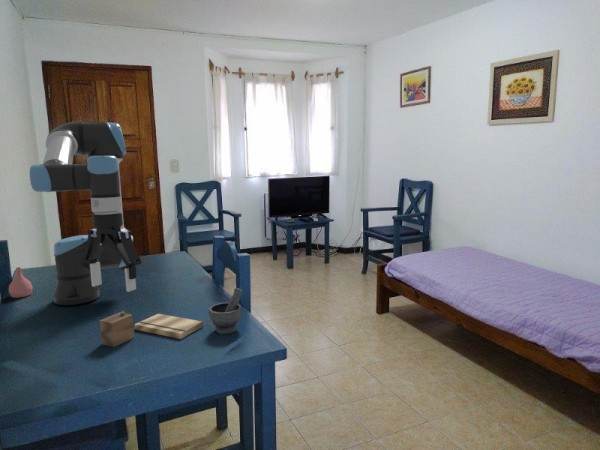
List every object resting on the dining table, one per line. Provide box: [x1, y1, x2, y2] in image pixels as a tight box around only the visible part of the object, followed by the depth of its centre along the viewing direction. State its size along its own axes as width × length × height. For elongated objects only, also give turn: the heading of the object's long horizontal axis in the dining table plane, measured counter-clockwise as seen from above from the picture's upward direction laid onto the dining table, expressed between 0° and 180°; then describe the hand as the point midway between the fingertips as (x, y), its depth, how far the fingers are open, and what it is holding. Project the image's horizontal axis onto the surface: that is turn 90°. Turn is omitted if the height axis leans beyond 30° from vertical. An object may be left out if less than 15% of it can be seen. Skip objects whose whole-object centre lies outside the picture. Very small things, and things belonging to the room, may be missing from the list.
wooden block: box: [99, 311, 135, 348], centre depth 120 cm, size 5×7×8 cm
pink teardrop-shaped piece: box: [8, 266, 33, 299], centre depth 161 cm, size 8×8×12 cm
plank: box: [134, 313, 204, 340], centre depth 129 cm, size 18×10×2 cm, turn 64°
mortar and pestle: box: [208, 287, 244, 335], centre depth 127 cm, size 11×9×12 cm
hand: (113, 287), depth 118 cm, fingers open, 13 cm apart
